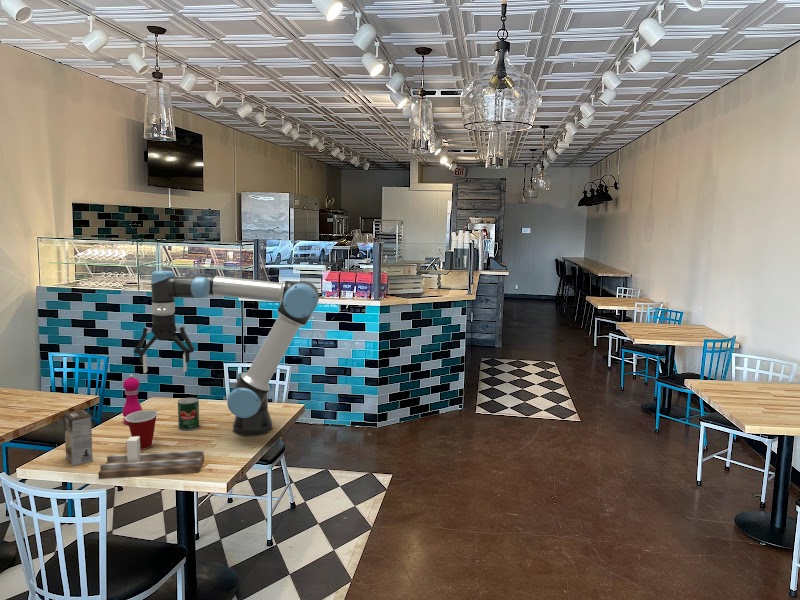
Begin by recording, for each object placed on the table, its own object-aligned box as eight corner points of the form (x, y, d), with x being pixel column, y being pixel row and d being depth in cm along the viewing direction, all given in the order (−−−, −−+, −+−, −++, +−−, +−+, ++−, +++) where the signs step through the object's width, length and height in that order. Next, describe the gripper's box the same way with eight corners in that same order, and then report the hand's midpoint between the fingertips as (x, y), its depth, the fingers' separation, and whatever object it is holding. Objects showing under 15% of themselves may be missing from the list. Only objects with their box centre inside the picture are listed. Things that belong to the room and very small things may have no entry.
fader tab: (140, 459, 189) (139, 436, 189) (137, 464, 186) (136, 440, 185) (130, 460, 189) (129, 436, 188) (127, 464, 185) (126, 441, 184)
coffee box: (65, 458, 195) (62, 412, 193) (85, 453, 200) (83, 408, 198) (72, 466, 189) (70, 419, 187) (94, 461, 193) (91, 415, 191)
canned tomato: (194, 422, 233) (193, 396, 232) (203, 427, 228) (202, 400, 226) (174, 426, 228) (174, 400, 226) (183, 432, 222) (182, 404, 221)
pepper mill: (135, 426, 228) (133, 377, 225) (119, 424, 229) (117, 375, 226) (146, 420, 235) (144, 372, 232) (130, 418, 236) (128, 371, 234)
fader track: (203, 458, 197) (203, 448, 197) (198, 472, 186) (198, 462, 185) (110, 463, 192) (109, 453, 191) (98, 478, 180) (98, 467, 179)
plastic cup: (119, 448, 204) (117, 416, 203) (145, 439, 214) (144, 408, 212) (139, 454, 199) (138, 421, 198) (165, 444, 209) (164, 413, 207)
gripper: (123, 315, 199) (125, 375, 202) (198, 315, 204) (200, 373, 207) (129, 312, 206) (131, 370, 209) (201, 312, 211) (202, 368, 214)
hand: (165, 371), depth 208 cm, fingers open, 13 cm apart
